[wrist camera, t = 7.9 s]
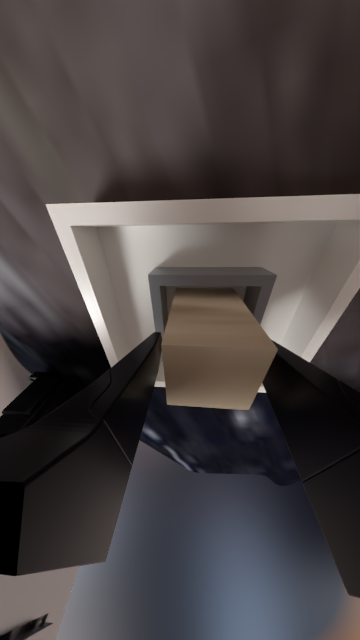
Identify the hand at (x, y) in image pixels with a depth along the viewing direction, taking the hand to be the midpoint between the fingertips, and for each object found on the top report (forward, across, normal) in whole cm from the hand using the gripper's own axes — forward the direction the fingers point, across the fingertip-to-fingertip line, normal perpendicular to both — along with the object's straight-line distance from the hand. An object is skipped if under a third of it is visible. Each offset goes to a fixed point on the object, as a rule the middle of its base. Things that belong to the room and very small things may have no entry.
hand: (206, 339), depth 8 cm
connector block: (+3, 0, 0) cm, 3 cm away
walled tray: (+4, 0, 0) cm, 4 cm away
